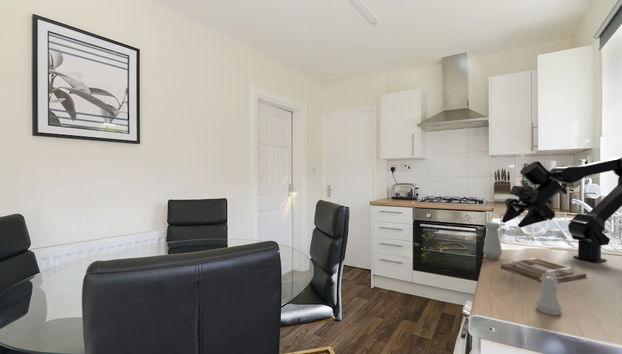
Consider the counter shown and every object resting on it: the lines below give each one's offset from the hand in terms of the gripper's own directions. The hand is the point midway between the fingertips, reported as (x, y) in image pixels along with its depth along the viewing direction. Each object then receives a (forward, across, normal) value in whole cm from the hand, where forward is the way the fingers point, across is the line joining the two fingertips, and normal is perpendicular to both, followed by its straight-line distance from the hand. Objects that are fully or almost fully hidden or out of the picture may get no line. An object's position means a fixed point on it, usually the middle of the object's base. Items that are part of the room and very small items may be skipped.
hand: (510, 224), depth 102 cm
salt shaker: (+13, 0, +4) cm, 14 cm away
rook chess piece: (+20, +40, -3) cm, 45 cm away
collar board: (+8, +15, +9) cm, 19 cm away
